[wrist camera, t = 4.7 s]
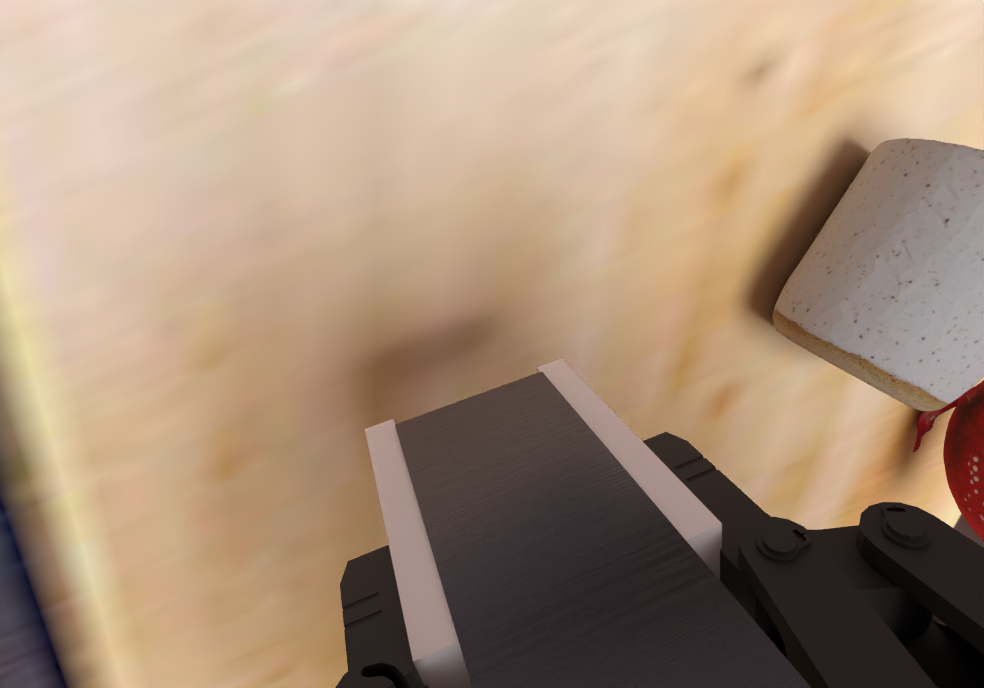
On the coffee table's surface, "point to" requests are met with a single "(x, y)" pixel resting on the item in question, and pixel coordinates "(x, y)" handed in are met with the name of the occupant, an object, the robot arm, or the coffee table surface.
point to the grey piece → (569, 557)
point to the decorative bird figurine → (963, 453)
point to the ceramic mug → (899, 275)
